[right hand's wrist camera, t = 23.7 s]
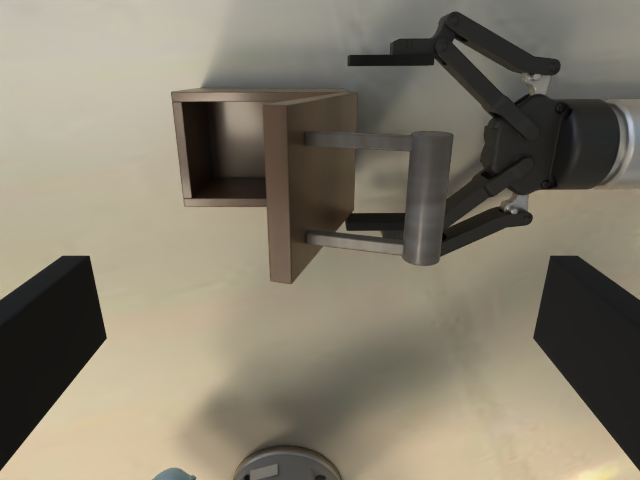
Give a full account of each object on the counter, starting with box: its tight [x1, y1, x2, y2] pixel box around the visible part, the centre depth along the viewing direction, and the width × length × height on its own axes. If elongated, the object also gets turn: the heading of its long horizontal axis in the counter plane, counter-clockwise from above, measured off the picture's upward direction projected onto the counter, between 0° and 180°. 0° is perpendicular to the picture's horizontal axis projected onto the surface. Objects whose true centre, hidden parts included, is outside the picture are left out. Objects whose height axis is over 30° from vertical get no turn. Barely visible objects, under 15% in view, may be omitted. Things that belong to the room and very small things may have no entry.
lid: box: [262, 92, 453, 284], centre depth 27 cm, size 14×9×9 cm
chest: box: [171, 88, 347, 207], centre depth 39 cm, size 14×9×9 cm
